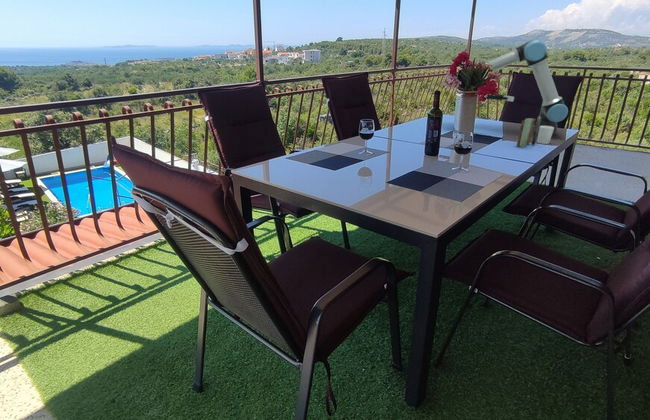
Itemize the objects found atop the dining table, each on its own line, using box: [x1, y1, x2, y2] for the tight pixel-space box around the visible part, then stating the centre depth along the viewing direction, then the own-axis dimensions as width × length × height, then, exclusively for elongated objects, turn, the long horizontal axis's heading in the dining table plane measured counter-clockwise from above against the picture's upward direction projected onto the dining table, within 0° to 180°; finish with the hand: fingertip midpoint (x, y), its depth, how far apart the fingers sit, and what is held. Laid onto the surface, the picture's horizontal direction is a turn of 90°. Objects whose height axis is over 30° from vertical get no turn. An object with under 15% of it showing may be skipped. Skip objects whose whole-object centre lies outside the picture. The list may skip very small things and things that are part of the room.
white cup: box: [536, 126, 554, 145], centre depth 232 cm, size 8×8×10 cm
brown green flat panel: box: [516, 118, 537, 147], centre depth 225 cm, size 12×1×15 cm, turn 122°
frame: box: [518, 115, 542, 149], centre depth 223 cm, size 16×2×17 cm, turn 124°
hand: (513, 99), depth 229 cm, fingers closed
